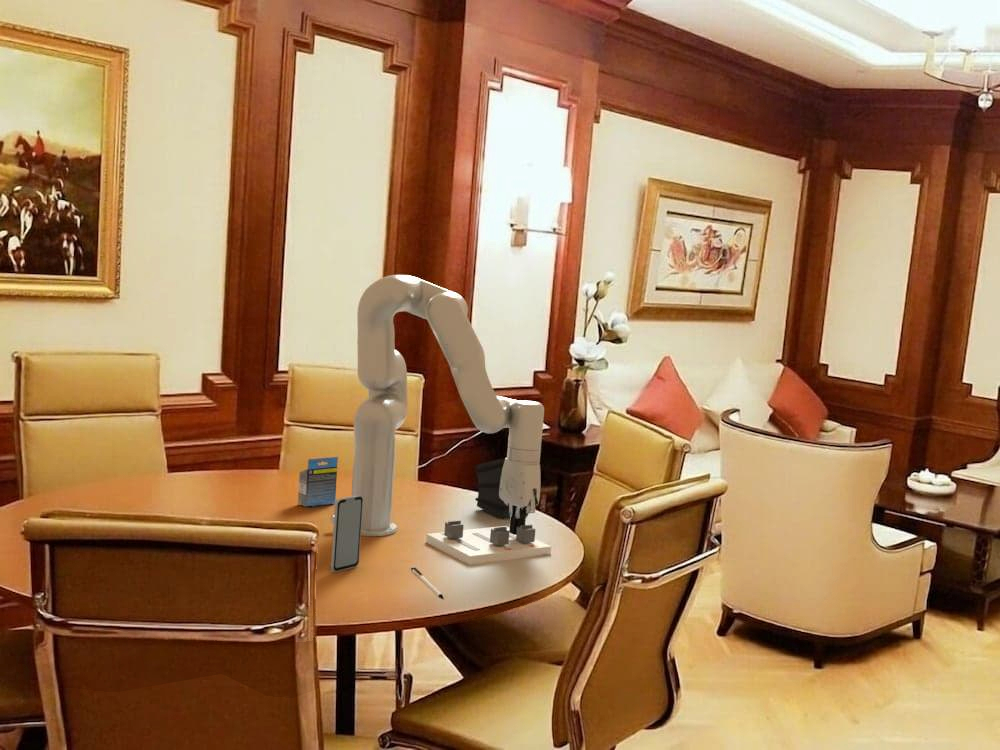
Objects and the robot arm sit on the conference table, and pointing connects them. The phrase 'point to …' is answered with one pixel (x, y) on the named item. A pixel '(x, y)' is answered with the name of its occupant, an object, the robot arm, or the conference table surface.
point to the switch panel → (485, 546)
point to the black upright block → (491, 489)
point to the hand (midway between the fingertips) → (516, 533)
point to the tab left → (454, 529)
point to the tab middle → (499, 536)
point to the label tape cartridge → (318, 482)
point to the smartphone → (346, 533)
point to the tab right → (525, 533)
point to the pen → (427, 583)
